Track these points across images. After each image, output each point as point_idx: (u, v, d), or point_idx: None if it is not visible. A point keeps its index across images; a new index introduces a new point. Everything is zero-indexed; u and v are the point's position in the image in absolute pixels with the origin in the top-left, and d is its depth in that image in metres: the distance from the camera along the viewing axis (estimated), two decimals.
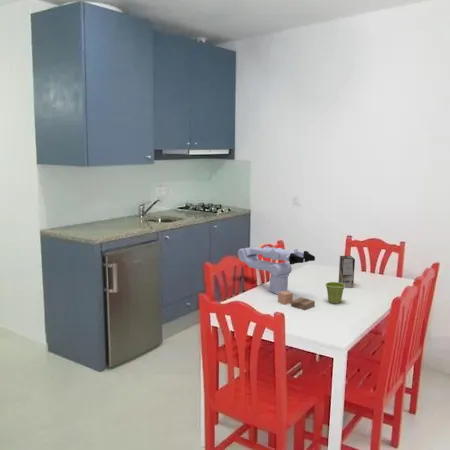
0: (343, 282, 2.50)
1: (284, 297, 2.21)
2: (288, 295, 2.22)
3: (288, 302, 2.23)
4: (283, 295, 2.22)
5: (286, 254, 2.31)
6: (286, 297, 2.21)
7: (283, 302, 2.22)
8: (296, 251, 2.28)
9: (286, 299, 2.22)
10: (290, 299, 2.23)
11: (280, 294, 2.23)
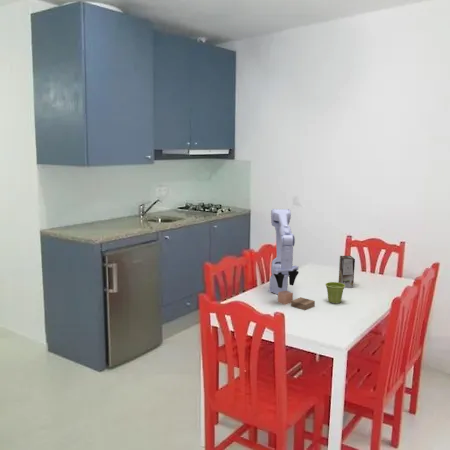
0: (343, 282, 2.50)
1: (284, 297, 2.21)
2: (288, 295, 2.22)
3: (288, 302, 2.23)
4: (283, 295, 2.22)
5: (284, 261, 2.19)
6: (286, 297, 2.21)
7: (283, 302, 2.22)
8: (290, 270, 2.20)
9: (286, 299, 2.22)
10: (290, 299, 2.23)
11: (280, 294, 2.23)
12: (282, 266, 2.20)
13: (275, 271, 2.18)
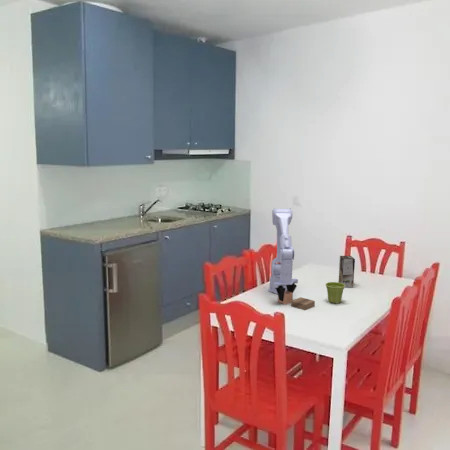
0: (343, 282, 2.50)
1: (284, 297, 2.21)
2: (288, 295, 2.22)
3: (288, 302, 2.23)
4: None
5: (284, 275, 2.20)
6: (286, 297, 2.21)
7: (283, 302, 2.22)
8: None
9: (286, 299, 2.21)
10: (290, 299, 2.23)
11: None
12: (282, 279, 2.21)
13: (275, 285, 2.19)
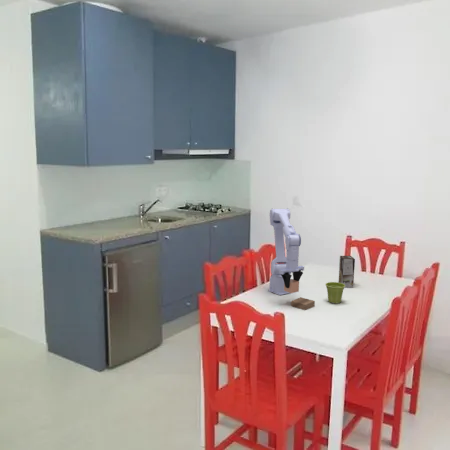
0: (343, 282, 2.50)
1: (290, 285, 2.18)
2: (294, 283, 2.19)
3: (294, 291, 2.20)
4: None
5: (290, 261, 2.17)
6: (292, 285, 2.18)
7: (289, 290, 2.19)
8: (296, 270, 2.18)
9: (292, 287, 2.19)
10: (296, 288, 2.20)
11: None
12: (288, 266, 2.18)
13: (281, 271, 2.16)
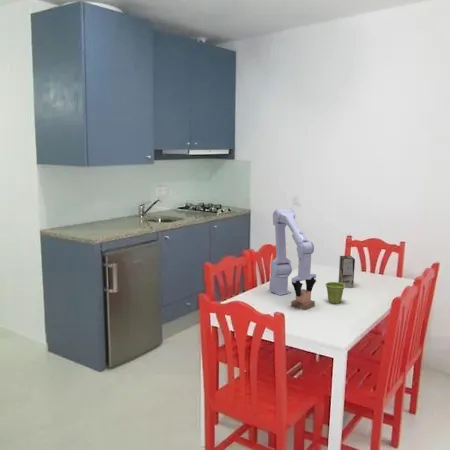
0: (343, 282, 2.50)
1: (302, 296, 2.16)
2: (306, 294, 2.16)
3: (306, 301, 2.17)
4: (301, 293, 2.16)
5: (302, 269, 2.14)
6: (304, 296, 2.15)
7: (301, 301, 2.16)
8: None
9: (304, 298, 2.16)
10: (308, 298, 2.17)
11: None
12: (300, 274, 2.15)
13: (293, 279, 2.13)
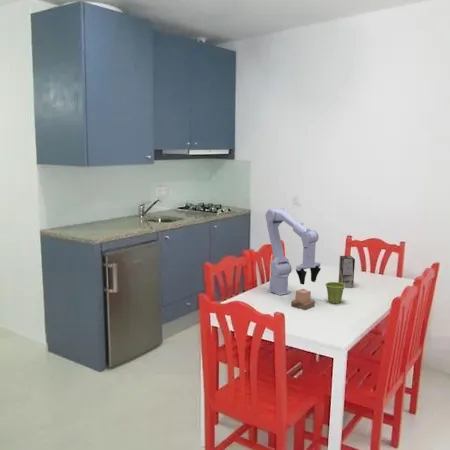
0: (343, 282, 2.50)
1: (302, 295, 2.15)
2: (306, 293, 2.16)
3: (306, 301, 2.17)
4: (301, 293, 2.16)
5: (306, 258, 2.19)
6: (304, 295, 2.15)
7: (301, 301, 2.16)
8: None
9: (304, 298, 2.16)
10: (308, 298, 2.17)
11: (298, 292, 2.18)
12: (304, 262, 2.20)
13: (297, 267, 2.18)
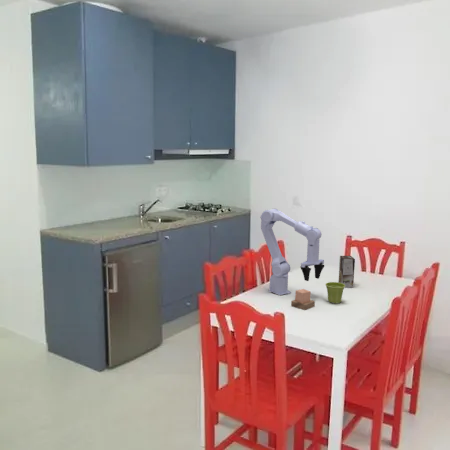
0: (343, 282, 2.50)
1: (302, 296, 2.15)
2: (306, 294, 2.16)
3: (306, 301, 2.17)
4: (300, 293, 2.16)
5: (311, 255, 2.25)
6: (303, 295, 2.15)
7: (300, 301, 2.16)
8: (317, 264, 2.26)
9: (304, 298, 2.15)
10: (308, 298, 2.17)
11: (297, 292, 2.18)
12: (309, 260, 2.26)
13: (302, 264, 2.24)
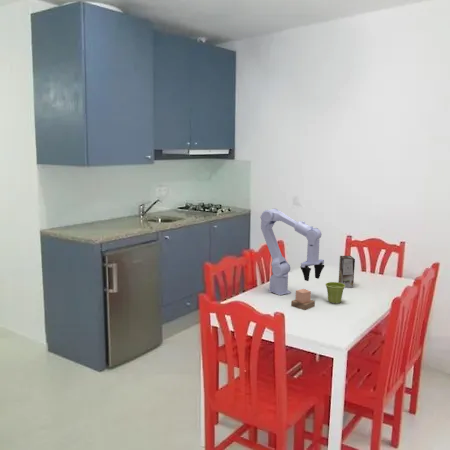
0: (343, 282, 2.50)
1: (302, 295, 2.15)
2: (306, 293, 2.16)
3: (306, 301, 2.16)
4: (300, 293, 2.16)
5: (311, 255, 2.25)
6: (303, 295, 2.15)
7: (301, 301, 2.16)
8: (317, 264, 2.26)
9: (304, 298, 2.15)
10: (308, 298, 2.17)
11: (298, 292, 2.18)
12: (309, 260, 2.26)
13: (302, 264, 2.24)
